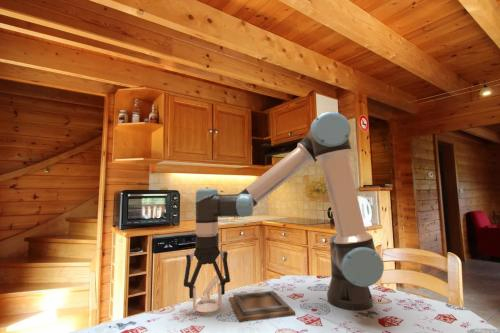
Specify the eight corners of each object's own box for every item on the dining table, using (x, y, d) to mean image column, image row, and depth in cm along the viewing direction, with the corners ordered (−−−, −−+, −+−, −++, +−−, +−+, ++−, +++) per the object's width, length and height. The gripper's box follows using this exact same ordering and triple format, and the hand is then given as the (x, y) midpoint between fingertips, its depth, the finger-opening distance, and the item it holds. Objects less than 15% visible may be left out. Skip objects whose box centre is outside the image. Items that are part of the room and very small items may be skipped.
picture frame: (275, 295, 103) (275, 289, 103) (295, 315, 86) (295, 307, 86) (228, 300, 98) (228, 293, 99) (239, 322, 81) (239, 314, 81)
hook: (232, 294, 85) (213, 283, 84) (210, 325, 85) (191, 314, 84) (231, 282, 92) (214, 271, 91) (211, 310, 93) (194, 300, 92)
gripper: (234, 232, 97) (235, 298, 95) (175, 235, 92) (174, 306, 90) (239, 234, 90) (240, 307, 88) (175, 238, 85) (174, 315, 82)
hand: (207, 306), depth 89 cm, fingers closed on hook, 8 cm apart
